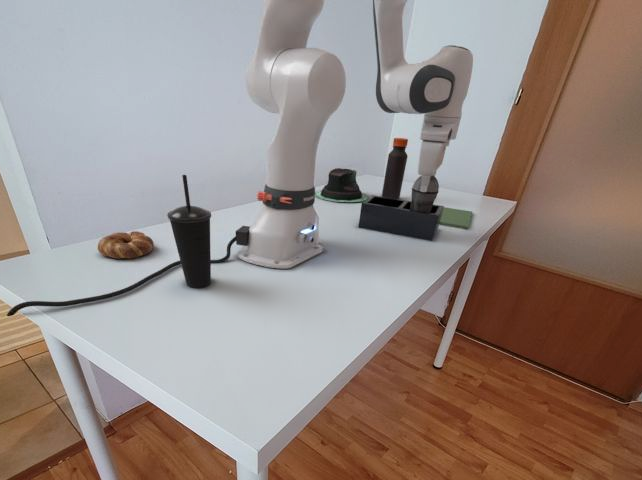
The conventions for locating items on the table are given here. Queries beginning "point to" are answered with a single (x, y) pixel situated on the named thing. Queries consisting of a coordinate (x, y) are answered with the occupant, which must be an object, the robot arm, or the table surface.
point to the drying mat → (455, 218)
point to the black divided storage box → (399, 218)
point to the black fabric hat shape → (342, 187)
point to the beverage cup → (424, 195)
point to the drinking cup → (192, 241)
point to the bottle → (395, 169)
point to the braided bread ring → (125, 245)
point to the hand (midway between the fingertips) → (426, 188)
